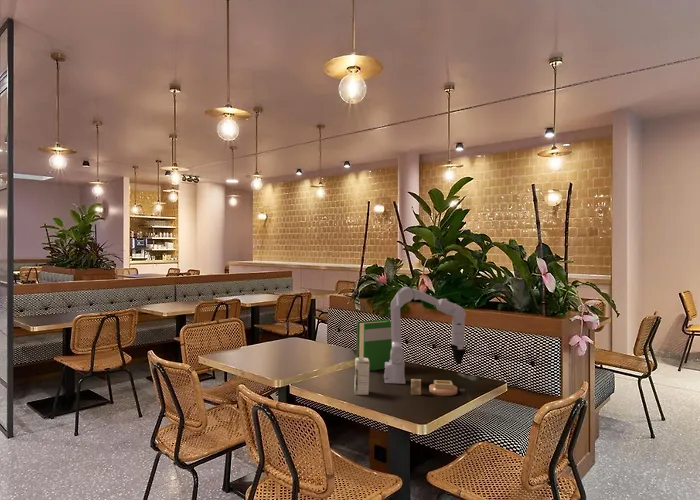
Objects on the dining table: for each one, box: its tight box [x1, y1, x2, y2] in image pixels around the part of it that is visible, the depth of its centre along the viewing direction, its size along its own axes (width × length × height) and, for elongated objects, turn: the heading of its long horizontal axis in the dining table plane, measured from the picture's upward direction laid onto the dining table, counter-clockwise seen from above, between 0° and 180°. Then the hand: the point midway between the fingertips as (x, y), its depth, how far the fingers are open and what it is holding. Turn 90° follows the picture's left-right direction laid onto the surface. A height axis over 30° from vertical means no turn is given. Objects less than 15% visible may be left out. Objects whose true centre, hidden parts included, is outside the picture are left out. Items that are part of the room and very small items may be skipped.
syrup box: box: [353, 357, 370, 396], centre depth 202 cm, size 6×6×14 cm
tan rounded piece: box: [428, 379, 458, 397], centre depth 206 cm, size 12×12×4 cm
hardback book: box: [356, 319, 392, 372], centre depth 246 cm, size 18×7×24 cm, turn 120°
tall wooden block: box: [410, 378, 422, 396], centre depth 202 cm, size 4×2×6 cm, turn 85°
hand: (457, 362), depth 218 cm, fingers open, 7 cm apart
